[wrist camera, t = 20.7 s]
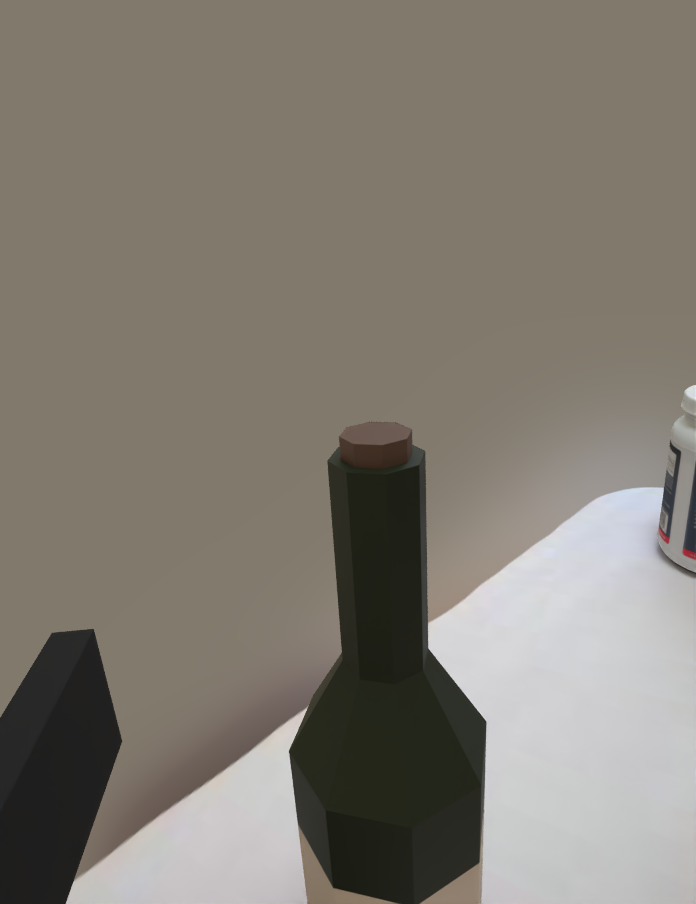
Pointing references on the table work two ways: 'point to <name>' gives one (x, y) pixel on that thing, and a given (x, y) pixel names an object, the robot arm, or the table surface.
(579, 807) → the table surface
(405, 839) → the wine bottle
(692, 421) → the supplement tub
